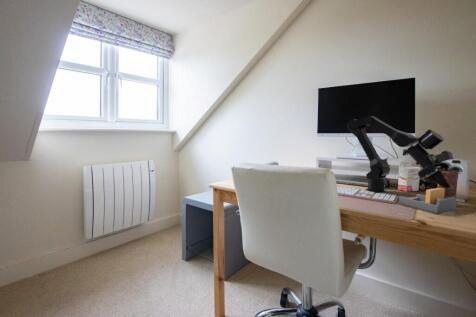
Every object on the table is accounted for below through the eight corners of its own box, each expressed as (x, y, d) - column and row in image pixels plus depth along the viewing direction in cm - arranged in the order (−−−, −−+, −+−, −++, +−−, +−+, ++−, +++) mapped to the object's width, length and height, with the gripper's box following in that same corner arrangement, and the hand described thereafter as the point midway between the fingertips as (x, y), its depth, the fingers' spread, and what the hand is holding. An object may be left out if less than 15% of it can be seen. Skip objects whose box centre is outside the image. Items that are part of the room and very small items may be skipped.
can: (459, 206, 100) (462, 171, 98) (441, 205, 101) (444, 171, 100) (450, 202, 106) (453, 169, 104) (432, 201, 107) (435, 168, 106)
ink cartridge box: (407, 192, 124) (409, 162, 123) (397, 189, 129) (399, 161, 127) (419, 190, 127) (421, 161, 126) (409, 188, 132) (411, 160, 130)
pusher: (424, 207, 96) (426, 189, 96) (438, 205, 100) (440, 187, 99) (432, 209, 94) (433, 191, 93) (446, 206, 98) (447, 188, 97)
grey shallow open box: (398, 204, 104) (399, 192, 103) (417, 200, 109) (418, 189, 108) (436, 214, 91) (438, 200, 91) (456, 210, 96) (457, 197, 96)
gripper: (429, 145, 99) (463, 177, 91) (447, 143, 109) (479, 172, 101) (405, 162, 106) (435, 194, 98) (424, 159, 117) (452, 188, 109)
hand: (451, 186), depth 102 cm, fingers closed on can, 5 cm apart
